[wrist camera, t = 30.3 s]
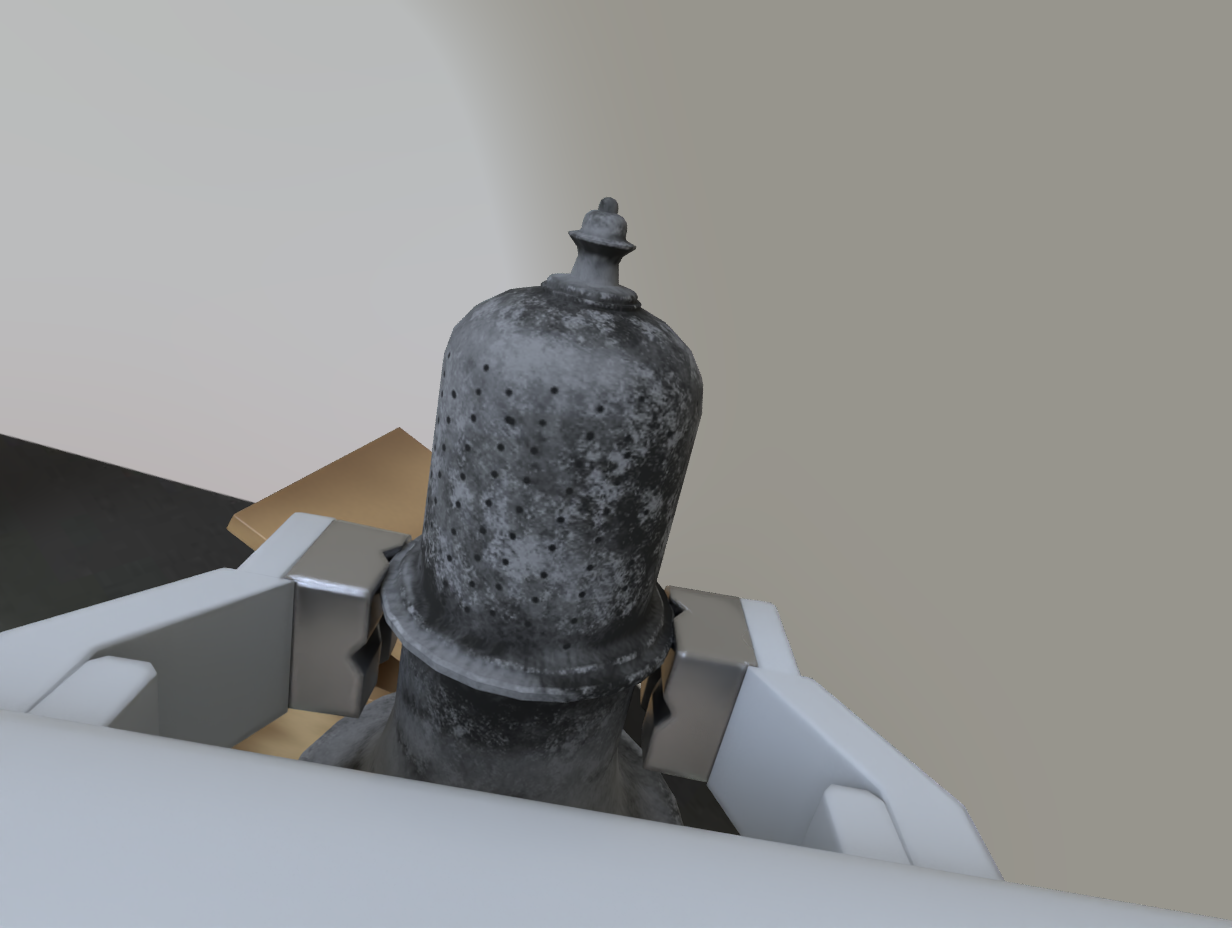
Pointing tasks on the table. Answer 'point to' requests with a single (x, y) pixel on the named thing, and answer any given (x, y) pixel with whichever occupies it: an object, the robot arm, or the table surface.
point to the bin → (310, 722)
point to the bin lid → (352, 493)
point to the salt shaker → (540, 548)
